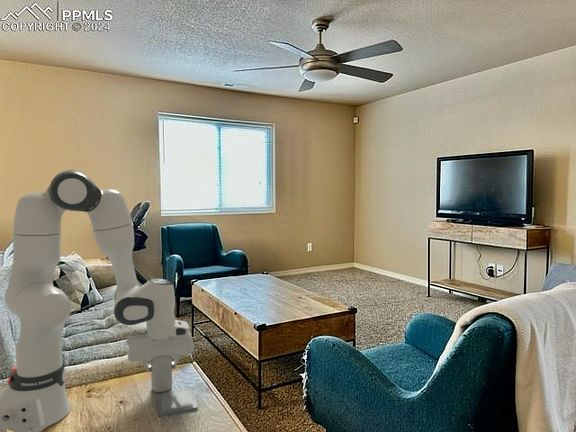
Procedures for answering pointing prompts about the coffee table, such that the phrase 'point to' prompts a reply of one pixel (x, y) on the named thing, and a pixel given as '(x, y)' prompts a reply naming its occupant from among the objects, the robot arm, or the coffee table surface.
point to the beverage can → (161, 373)
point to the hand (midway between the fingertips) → (161, 369)
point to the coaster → (176, 402)
